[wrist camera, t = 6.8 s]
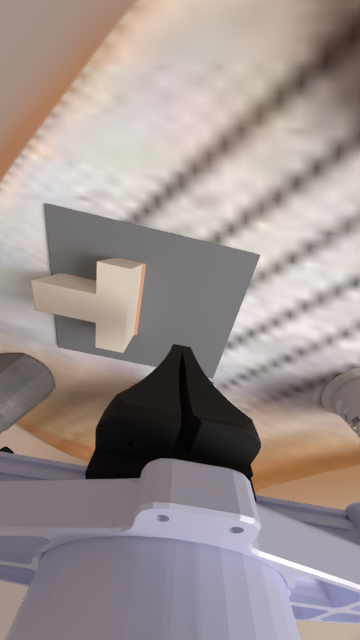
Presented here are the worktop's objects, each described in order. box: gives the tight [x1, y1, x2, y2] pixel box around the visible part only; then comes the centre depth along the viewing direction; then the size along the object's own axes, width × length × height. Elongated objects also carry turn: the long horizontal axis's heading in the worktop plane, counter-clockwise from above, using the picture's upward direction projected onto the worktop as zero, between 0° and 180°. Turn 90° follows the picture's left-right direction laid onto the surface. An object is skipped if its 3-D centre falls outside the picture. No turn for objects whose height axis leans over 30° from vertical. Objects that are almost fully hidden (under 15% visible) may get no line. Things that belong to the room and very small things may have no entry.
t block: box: [31, 258, 142, 353], centre depth 18 cm, size 9×9×4 cm
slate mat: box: [45, 203, 260, 378], centre depth 21 cm, size 17×22×1 cm
